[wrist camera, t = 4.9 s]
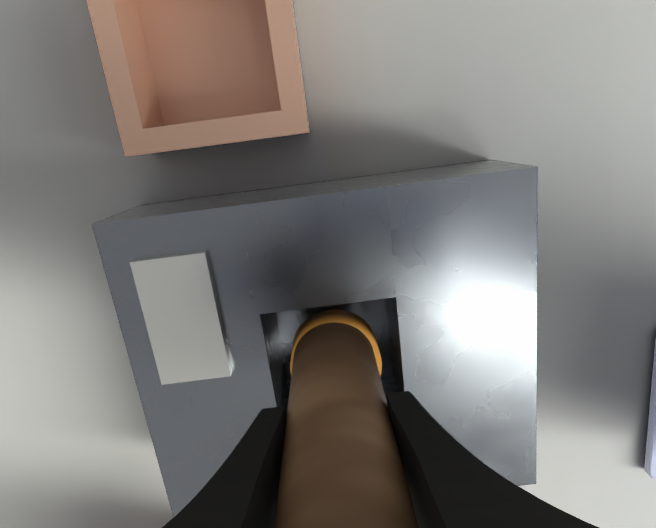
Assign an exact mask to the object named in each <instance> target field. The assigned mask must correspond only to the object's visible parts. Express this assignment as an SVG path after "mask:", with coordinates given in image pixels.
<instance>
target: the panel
mask: <svg viewBox="0 0 656 528" xmlns="http://www.w3.org/2000/svg"><path fill="white" fill-rule="evenodd" d="M537 185H538V167H537V166H530V165H523V164H516V163H509V162H502V161H495V160H484V161H476V162H469V163H461V164H453V165H445V166H438V167H430V168H422V169H415V170H407V171H399V172H392V173H384V174H376V175H369V176H361V177H353V178H346V179H338V180H330V181H322V182H315V183H307V184H299V185H292V186H284V187H276V188H269V189H261V190H253V191H246V192H238V193H230V194H222V195H215V196H207V197H199V198H192V199H184V200H176V201H169V202H161V203H153V204H146V205H140V206H137V207H135V208H132V209H130V210H127V211H125V212H122V213H119V214H117V215H114V216H112V217H109V218H107V219H104V220H102V221H99V222H97V223H94V224H92V226H93V230H94V234H95V237H96V241H97V244H98V248H99V252H100V255H101V259H102V262H103V266H104V269H105V273H106V277H107V280H108V284H109V287H110V291H111V295H112V298H113V302H114V305H115V309H116V313H117V316H118V320H119V323H120V327H121V330H122V334H123V338H124V341H125V345H126V348H127V352H128V356H129V359H130V363H131V366H132V370H133V373H134V377H135V381H136V384H137V388H138V391H139V395H140V399H141V402H142V406H143V409H144V413H145V417H146V420H147V424H148V427H149V431H150V434H151V438H152V442H153V445H154V449H155V452H156V456H157V460H158V463H159V467H160V470H161V474H162V478H163V481H164V485H165V488H166V492H167V495H168V499H169V503H170V506H171V510H172V513H173V517H175V516H176V515H177V514H178V513H179V512H180V511H181V510H182V509H183V508H184V507H185V506H186V505H187V504H188V503H189V502H190V501H191V500H192V499H193V498H194V497H195V496H196V495H197V494H198V493H199V492H200V490H201V489H202V488H203V487H204V486H205V485H206V484H207V482H208V481H209V480H210V479H211V478H212V476H213V475H214V474H215V473H216V471H217V470H218V469H219V468H220V467H221V465H222V464H223V463H224V462H225V460H226V459H227V458H228V456H229V455H230V454H231V452H232V451H233V449H234V448H235V447H236V445H237V444H238V443H239V441H240V440H241V438H242V437H243V436H244V434H245V433H246V431H247V430H248V428H249V427H250V425H251V424H252V422H253V421H254V419H255V418H256V416H257V415H258V413H259V412H260V411H261V410H262V409H264V408H273V407H281V406H284V408H285V414H286V419H287V410H288V401H289V393H290V384H291V372H290V361H291V353H292V345H293V340H294V337H295V334H296V332H297V330H298V329H299V327H300V326H301V324H302V323H303V322H304V321H305V320H307V319H308V318H309V317H311V316H312V315H314V314H316V313H319V312H322V311H325V310H333V309H337V310H345V311H349V312H352V313H354V314H356V315H358V316H360V317H361V318H362V319H364V320H365V321H366V322H367V323H368V324H369V326H370V327H371V328H372V330H373V332H374V334H375V337H376V341H377V344H378V348H379V351H380V355H381V360H382V371H381V376H380V378H381V382H382V386H383V390H384V394H385V398H386V402H387V396H386V394H387V393H395V392H403V391H409V392H411V393H412V394H413V395H414V396H415V398H416V399H417V400H418V401H419V402H420V404H421V405H422V406H423V407H424V408H425V409H426V410H427V411H428V412H429V414H430V415H431V416H432V417H433V418H434V419H435V420H436V421H437V422H438V423H439V424H440V425H441V426H442V427H443V428H444V429H445V430H446V431H447V432H448V433H449V434H450V435H451V436H453V437H454V438H455V439H456V440H457V441H458V442H459V443H460V444H461V445H463V446H464V447H465V448H466V449H467V450H468V451H470V452H471V453H472V454H473V455H474V456H476V457H477V458H478V459H479V460H481V461H482V462H483V463H484V464H486V465H487V466H488V467H490V468H491V469H493V470H494V471H496V472H497V473H498V474H500V475H501V476H503V477H504V478H506V479H507V480H509V481H510V482H512V483H513V484H515V485H517V486H520V485H529V484H536V396H537ZM387 406H388V405H387Z"/></svg>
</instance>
